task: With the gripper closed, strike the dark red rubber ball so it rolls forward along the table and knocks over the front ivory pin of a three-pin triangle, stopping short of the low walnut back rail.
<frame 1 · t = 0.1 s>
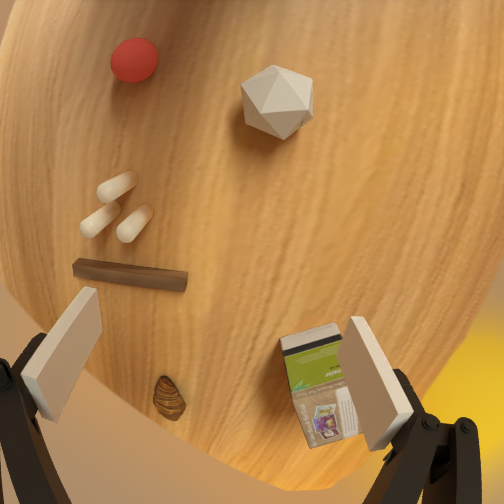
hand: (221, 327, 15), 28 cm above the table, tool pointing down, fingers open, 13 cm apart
tea box: (314, 357, 53), on the table
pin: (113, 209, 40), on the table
ball: (134, 60, 30), on the table
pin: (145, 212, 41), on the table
croissant: (170, 395, 56), on the table
die: (274, 103, 36), on the table
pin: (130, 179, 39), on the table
back rail: (130, 270, 44), on the table
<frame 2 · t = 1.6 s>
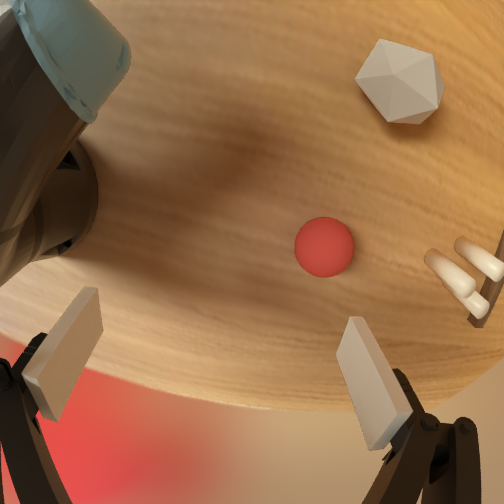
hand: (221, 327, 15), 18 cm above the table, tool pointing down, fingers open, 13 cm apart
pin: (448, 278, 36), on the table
ball: (324, 247, 30), on the table
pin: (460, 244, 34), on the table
die: (384, 86, 27), on the table
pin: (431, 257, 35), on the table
back rail: (493, 269, 36), on the table
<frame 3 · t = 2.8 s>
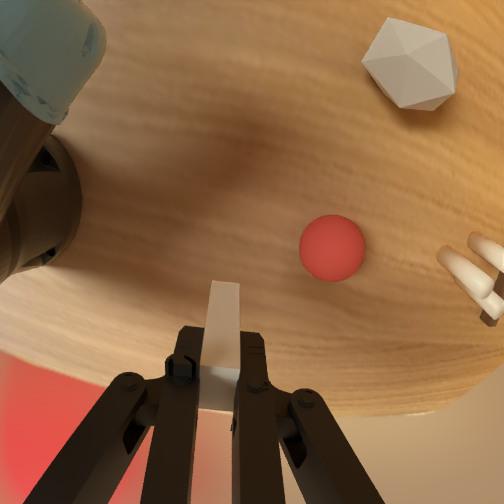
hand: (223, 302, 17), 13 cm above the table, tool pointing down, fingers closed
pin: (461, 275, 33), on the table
ball: (332, 248, 27), on the table
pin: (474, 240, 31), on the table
die: (392, 70, 24), on the table
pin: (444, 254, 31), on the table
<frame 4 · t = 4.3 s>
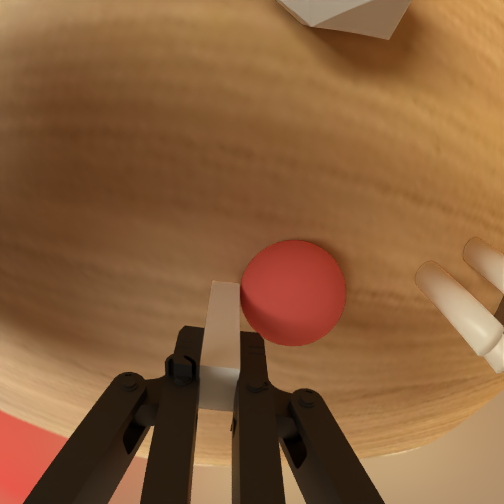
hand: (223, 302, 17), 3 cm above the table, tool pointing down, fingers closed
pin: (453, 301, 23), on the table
ball: (293, 293, 17), on the table
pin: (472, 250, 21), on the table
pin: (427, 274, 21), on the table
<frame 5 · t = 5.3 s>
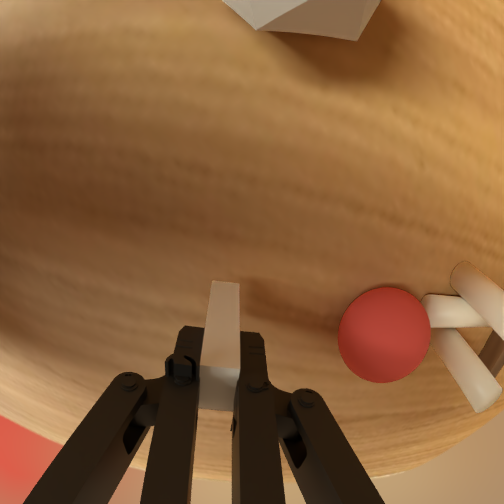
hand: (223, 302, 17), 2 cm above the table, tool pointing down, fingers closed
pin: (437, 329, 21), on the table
ball: (384, 335, 17), on the table
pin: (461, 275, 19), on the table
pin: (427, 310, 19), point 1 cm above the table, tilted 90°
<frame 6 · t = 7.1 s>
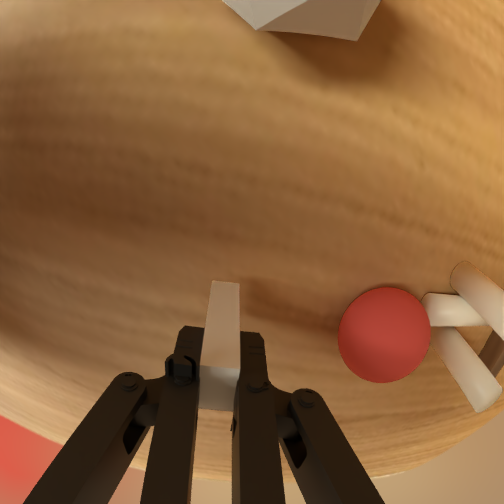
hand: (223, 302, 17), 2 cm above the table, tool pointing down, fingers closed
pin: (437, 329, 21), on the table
ball: (384, 335, 17), on the table
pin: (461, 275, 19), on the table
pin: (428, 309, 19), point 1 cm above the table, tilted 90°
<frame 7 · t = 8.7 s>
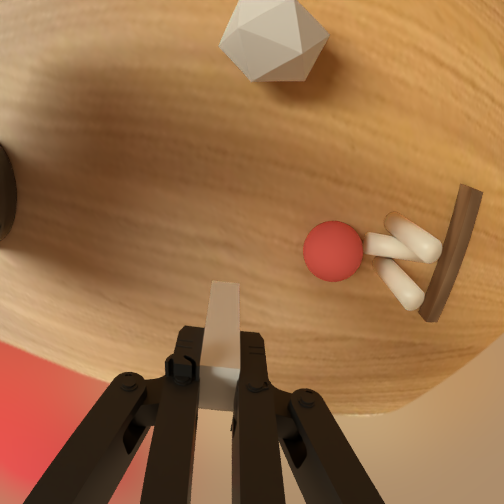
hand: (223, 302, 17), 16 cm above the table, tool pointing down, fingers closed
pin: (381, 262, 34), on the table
ball: (333, 251, 30), on the table
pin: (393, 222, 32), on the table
die: (269, 49, 25), on the table
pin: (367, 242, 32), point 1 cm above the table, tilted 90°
back rail: (446, 252, 34), on the table
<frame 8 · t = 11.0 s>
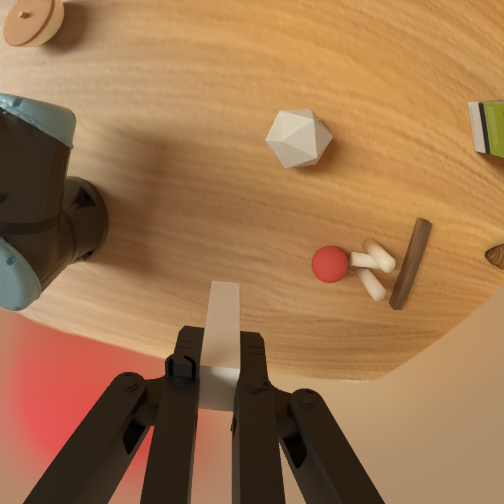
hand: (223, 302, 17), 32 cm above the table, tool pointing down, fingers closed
tea box: (492, 123, 43), on the table
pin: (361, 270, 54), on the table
ball: (329, 264, 49), on the table
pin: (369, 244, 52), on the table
croissant: (500, 252, 54), on the table
die: (294, 136, 44), on the table
lidded jar: (50, 25, 33), on the table
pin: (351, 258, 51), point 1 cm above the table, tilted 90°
back rail: (407, 263, 53), on the table
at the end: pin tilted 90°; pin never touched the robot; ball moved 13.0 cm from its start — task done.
